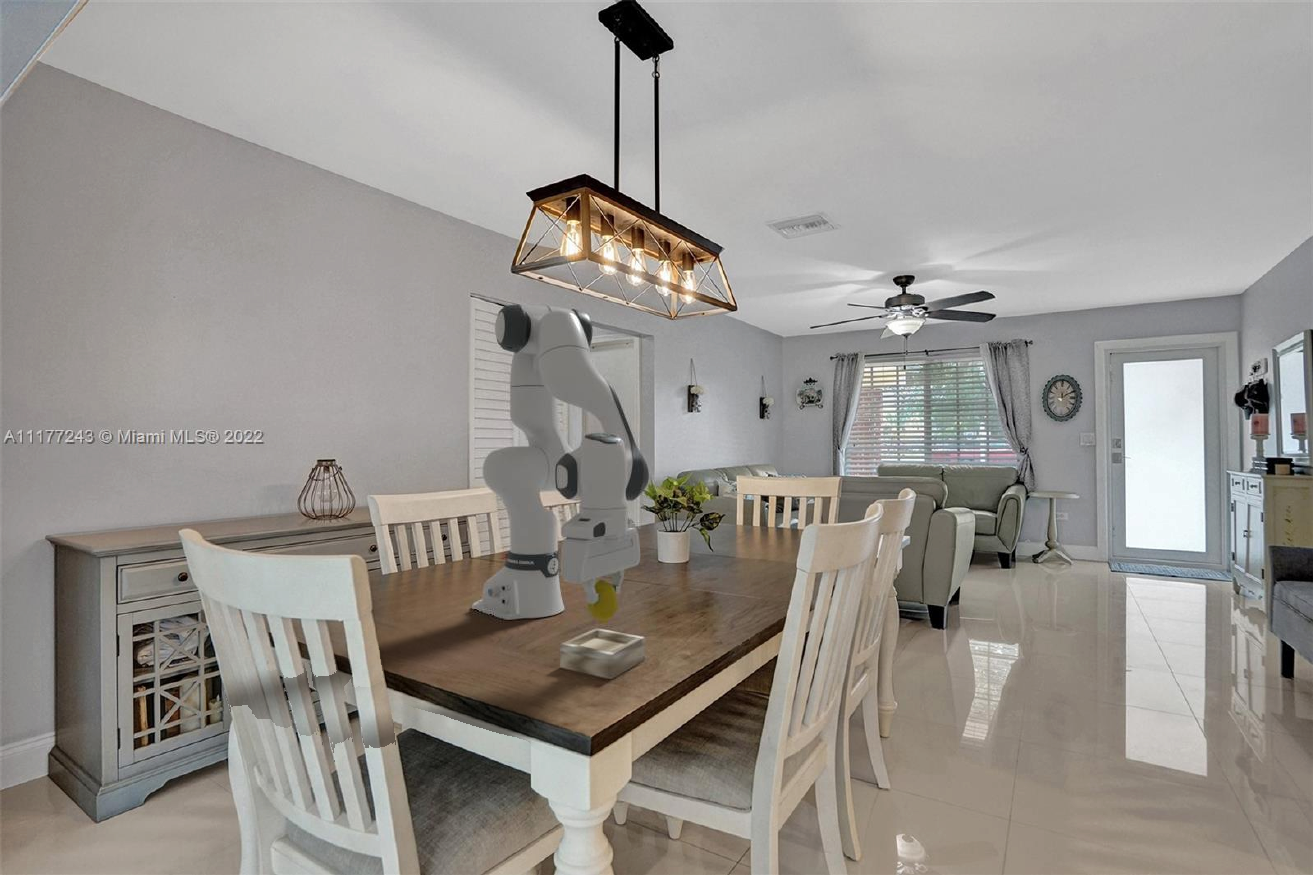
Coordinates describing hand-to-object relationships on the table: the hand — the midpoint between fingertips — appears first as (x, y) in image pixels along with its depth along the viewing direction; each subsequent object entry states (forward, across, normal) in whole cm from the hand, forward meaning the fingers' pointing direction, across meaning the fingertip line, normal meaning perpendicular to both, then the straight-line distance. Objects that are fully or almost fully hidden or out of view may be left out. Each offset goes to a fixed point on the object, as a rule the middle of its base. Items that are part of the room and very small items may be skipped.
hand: (603, 598), depth 115 cm
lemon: (+5, 0, 0) cm, 5 cm away
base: (+12, 0, 0) cm, 12 cm away
